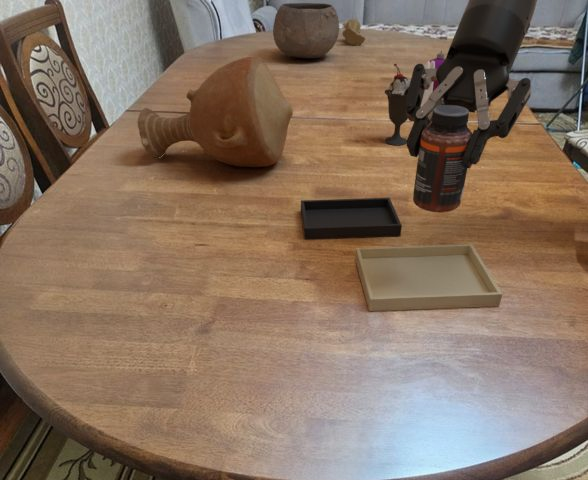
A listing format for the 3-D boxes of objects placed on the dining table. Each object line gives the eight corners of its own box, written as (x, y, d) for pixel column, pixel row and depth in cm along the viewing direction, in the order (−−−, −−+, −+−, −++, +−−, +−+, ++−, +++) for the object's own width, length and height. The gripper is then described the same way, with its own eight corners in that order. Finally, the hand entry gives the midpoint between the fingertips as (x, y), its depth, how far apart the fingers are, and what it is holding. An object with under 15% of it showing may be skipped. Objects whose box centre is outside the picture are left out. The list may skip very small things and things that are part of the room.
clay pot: (269, 52, 184) (267, 0, 175) (329, 49, 187) (331, -3, 178) (279, 67, 169) (278, 11, 159) (345, 64, 171) (347, 8, 162)
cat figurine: (345, 27, 186) (343, 10, 192) (338, 47, 191) (336, 30, 198) (367, 34, 188) (365, 17, 194) (360, 54, 193) (357, 37, 200)
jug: (278, 126, 90) (112, 140, 96) (300, 186, 108) (159, 194, 114) (285, 25, 94) (126, 44, 101) (305, 99, 112) (169, 111, 119)
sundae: (378, 136, 120) (385, 60, 111) (409, 136, 120) (418, 60, 111) (381, 146, 115) (388, 69, 106) (413, 146, 115) (423, 68, 106)
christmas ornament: (422, 86, 151) (427, 45, 144) (452, 88, 149) (459, 47, 142) (417, 94, 145) (422, 52, 138) (448, 96, 143) (455, 54, 136)
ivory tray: (469, 255, 81) (472, 243, 80) (499, 306, 71) (502, 294, 70) (355, 259, 80) (356, 247, 79) (369, 311, 70) (370, 299, 69)
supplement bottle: (469, 203, 69) (489, 109, 61) (442, 219, 65) (460, 122, 58) (429, 189, 72) (444, 98, 65) (402, 204, 69) (414, 109, 61)
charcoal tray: (388, 208, 93) (389, 197, 92) (400, 236, 85) (401, 225, 84) (300, 210, 93) (300, 200, 91) (304, 239, 85) (304, 228, 84)
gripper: (429, -4, 63) (374, 131, 63) (559, 6, 57) (498, 156, 57) (439, 40, 70) (389, 162, 70) (556, 53, 64) (501, 186, 64)
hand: (438, 158), depth 63 cm, fingers closed on supplement bottle, 6 cm apart
